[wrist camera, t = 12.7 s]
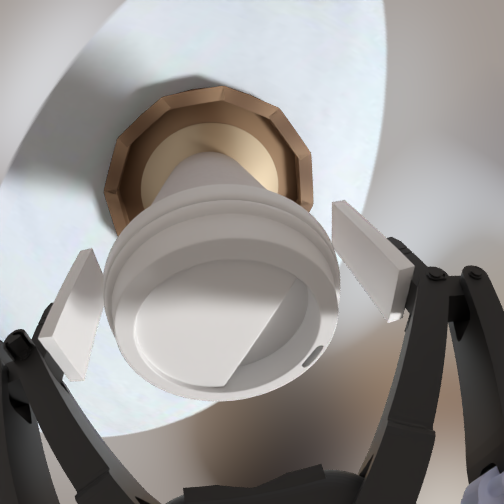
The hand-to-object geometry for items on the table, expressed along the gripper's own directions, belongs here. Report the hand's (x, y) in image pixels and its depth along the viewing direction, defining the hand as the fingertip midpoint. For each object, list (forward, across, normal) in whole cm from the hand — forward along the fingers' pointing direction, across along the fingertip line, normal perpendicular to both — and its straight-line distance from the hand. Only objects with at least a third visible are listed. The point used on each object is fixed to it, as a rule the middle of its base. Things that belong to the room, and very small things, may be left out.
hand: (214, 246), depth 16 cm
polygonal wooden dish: (+9, 0, 0) cm, 9 cm away
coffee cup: (+8, 0, 0) cm, 9 cm away
